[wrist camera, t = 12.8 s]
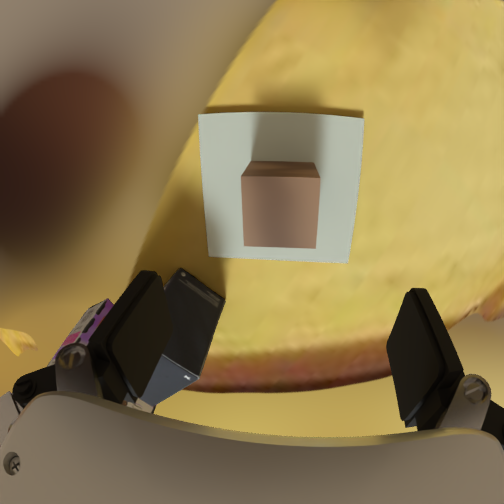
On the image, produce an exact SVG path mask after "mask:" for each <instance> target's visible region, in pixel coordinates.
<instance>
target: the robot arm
mask: <svg viewBox="0 0 504 504" xmlns="http://www.w3.org/2000/svg"><path fill="white" fill-rule="evenodd" d="M172 332H173V324H172V320H171V317H170V313H169V309H168V305H167V300H166V296H165V292H164V288H163V283H162V279H161V277H160V276H158V275H157V273H156V272H155V271H146V270H142V271H140V272H139V274H138V275H137V276H136V277H135V279H134V280H133V281H132V282H131V284H130V285H129V286H128V288H127V289H126V290H125V291H124V293H123V294H122V296H121V297H120V298H119V299H118V300H117V302H116V303H115V304H114V306H113V307H112V308H111V310H110V311H109V312H108V314H107V315H106V316H105V318H104V319H103V320H102V322H101V323H100V324H99V326H98V327H97V328H96V330H95V331H94V333H93V334H92V335H91V337H90V338H89V340H88V341H89V343H88V344H87V346H85V345H84V344H82V343H71V344H68V345H66V346H64V347H63V348H62V349H61V350H60V351H59V352H58V353H57V355H56V358H55V364H53V365H51V366H48V367H45V368H42V369H40V370H37V371H34V372H32V373H29V374H26V375H23V376H22V377H20V378H19V379H18V380H17V381H16V383H15V384H14V387H13V392H12V393H11V392H10V391H9V392H7V393H6V394H4V395H3V396H2V397H0V504H504V408H502V407H501V406H499V405H498V404H496V403H494V402H493V401H492V400H491V388H490V386H489V384H488V382H486V380H485V379H484V378H482V377H481V376H479V375H476V374H469V375H466V376H465V375H464V372H463V367H462V364H461V362H460V359H459V357H458V355H457V352H456V350H455V348H454V346H453V343H452V341H451V339H450V336H449V334H448V332H447V329H446V327H445V325H444V323H443V321H442V319H441V317H440V315H439V313H438V311H437V309H436V307H435V305H434V303H433V301H432V299H431V297H430V295H429V293H428V291H427V290H426V289H425V288H412V289H411V290H410V291H409V292H407V293H406V294H405V297H404V300H403V302H402V305H401V308H400V311H399V313H398V316H397V319H396V321H395V324H394V326H393V329H392V331H391V334H390V336H389V338H388V341H387V346H386V348H387V354H388V358H389V362H390V367H391V371H392V376H393V381H394V385H395V390H396V396H397V401H398V406H399V412H400V417H401V420H402V421H405V427H406V428H407V427H414V426H417V429H418V431H415V432H408V433H399V434H390V435H389V434H388V435H377V436H362V437H293V436H277V435H265V434H256V433H248V432H240V431H233V430H226V429H220V428H214V427H209V426H203V425H198V424H193V423H188V422H183V421H179V420H175V419H171V418H167V417H163V416H159V415H155V414H152V413H148V412H145V411H141V410H137V409H134V408H131V407H127V406H124V405H122V403H123V401H127V402H131V403H134V404H135V403H136V401H137V399H138V398H141V397H142V396H143V394H144V392H145V390H146V387H147V385H148V383H149V381H150V379H151V377H152V375H153V372H154V370H155V368H156V366H157V364H158V362H159V360H160V358H161V356H162V354H163V352H164V349H165V347H166V345H167V343H168V341H169V339H170V337H171V335H172Z"/></svg>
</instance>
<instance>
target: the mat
mask: <svg viewBox="0 0 504 504" xmlns="http://www.w3.org/2000/svg"><path fill="white" fill-rule="evenodd" d="M198 121H199V140H200V157H201V172H202V186H203V199H204V211H205V222H206V233H207V243H208V253H209V257H226V258H246V259H266V260H286V261H308V262H329V263H348V259H349V254H350V248H351V242H352V235H353V229H354V222H355V215H356V207H357V199H358V191H359V182H360V172H361V161H362V148H363V134H364V119H363V118H355V117H347V116H337V115H326V114H312V113H292V112H231V113H211V114H198ZM250 161H288V162H314V164H315V166H316V169H317V171H318V173H319V176H320V178H321V180H320V198H319V214H318V228H317V240H316V249H308V248H279V247H249V246H244V239H243V217H242V195H241V175H242V174H243V172H244V171H245V169H246V167H247V166H248V164H249V163H250Z"/></svg>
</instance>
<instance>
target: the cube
mask: <svg viewBox="0 0 504 504" xmlns="http://www.w3.org/2000/svg"><path fill="white" fill-rule="evenodd" d="M320 180H321V178H320V176H319V173H318V171H317V169H316V166H315V164H314V162H288V161H250V163H249V164H248V166H247V167H246V169H245V171H244V172H243V174H242V175H241V195H242V217H243V239H244V246H249V247H279V248H308V249H316V240H317V228H318V214H319V198H320Z"/></svg>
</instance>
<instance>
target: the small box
mask: <svg viewBox="0 0 504 504" xmlns="http://www.w3.org/2000/svg"><path fill="white" fill-rule="evenodd" d="M163 288H164V292H165V296H166V300H167V305H168V309H169V313H170V317H171V320H172V324H173V332H172V335H171V337H170V339H169V341H168V343H167V345H166V347H165V349H164V352H163V354H162V356H161V358H160V360H159V362H158V364H157V366H156V368H155V370H154V372H153V375H152V377H151V379H150V381H149V383H148V385H147V387H146V390H145V392H144V394H143V396H142V397H141V398H139V399H140V400H142V401H144V402H145V403H147V404H149V405H150V406H152V407H153V406H155V405H156V404H158V403H160V402H161V401H163V400H165V399H167V398H168V397H170V396H172V395H173V394H175V393H177V392H178V391H180V390H182V389H183V388H185V387H187V386H188V385H190V384H191V383H193V382H194V381H196V380H198V379H199V378H200V375H201V372H202V369H203V366H204V363H205V360H206V357H207V354H208V351H209V348H210V345H211V342H212V339H213V335H214V332H215V329H216V326H217V324H218V320H219V318H220V315H221V312H222V310H223V307H224V304H225V302H226V301H225V299H223V298H222V297H220V296H219V295H217V294H216V293H215V292H213V291H212V290H210V289H209V288H208V287H206V286H205V285H203V284H202V283H201V282H200V281H198V280H197V279H195V277H193V276H192V275H190V274H189V273H188V272H186V271H185V270H183V269H182V268H180V269H178V270H177V271H176V273H175V274H174V275H173V276H172V277H171V278H170V280H169V281H168V282H167V283H166V284H165V286H164V287H163Z"/></svg>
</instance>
